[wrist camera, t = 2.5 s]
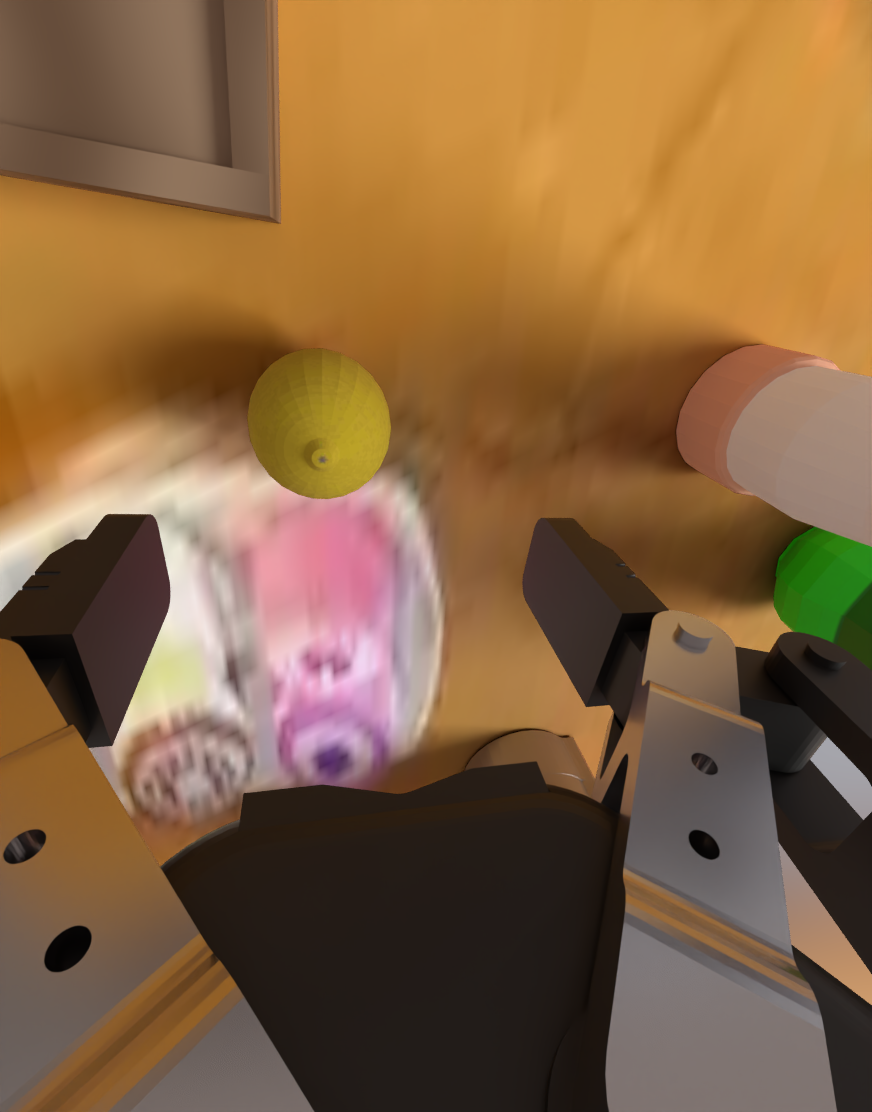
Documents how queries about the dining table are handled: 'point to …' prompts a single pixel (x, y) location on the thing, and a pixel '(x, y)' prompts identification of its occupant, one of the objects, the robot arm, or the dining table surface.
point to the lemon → (319, 423)
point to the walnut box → (145, 100)
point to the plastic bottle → (827, 590)
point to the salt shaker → (785, 435)
